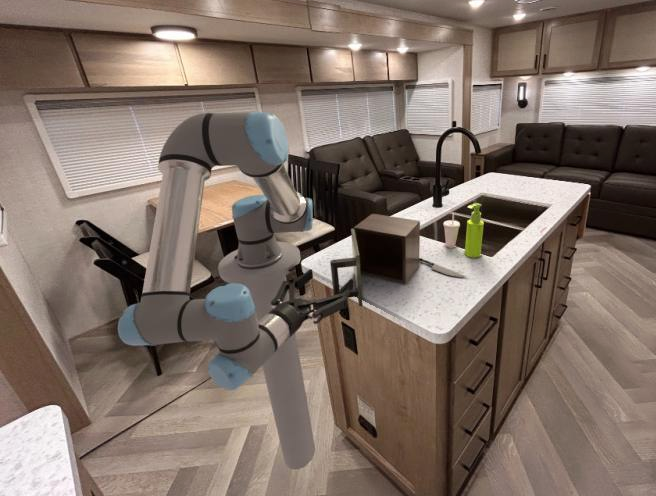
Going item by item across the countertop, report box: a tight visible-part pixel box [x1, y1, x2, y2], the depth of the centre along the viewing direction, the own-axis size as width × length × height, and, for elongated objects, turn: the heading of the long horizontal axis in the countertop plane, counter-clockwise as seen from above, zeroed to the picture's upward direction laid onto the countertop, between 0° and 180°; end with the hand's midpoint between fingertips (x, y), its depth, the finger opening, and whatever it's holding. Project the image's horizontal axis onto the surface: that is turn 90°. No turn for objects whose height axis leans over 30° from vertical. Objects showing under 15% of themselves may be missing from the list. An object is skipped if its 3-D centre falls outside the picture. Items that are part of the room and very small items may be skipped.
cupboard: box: [353, 213, 421, 285], centre depth 108 cm, size 13×18×17 cm
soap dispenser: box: [464, 202, 485, 259], centre depth 117 cm, size 6×7×20 cm
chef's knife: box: [419, 257, 467, 278], centre depth 110 cm, size 19×1×3 cm
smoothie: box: [443, 212, 461, 249], centre depth 125 cm, size 6×6×14 cm
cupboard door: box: [329, 228, 364, 307], centre depth 97 cm, size 8×18×17 cm, turn 12°
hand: (331, 278), depth 91 cm, fingers open, 13 cm apart
